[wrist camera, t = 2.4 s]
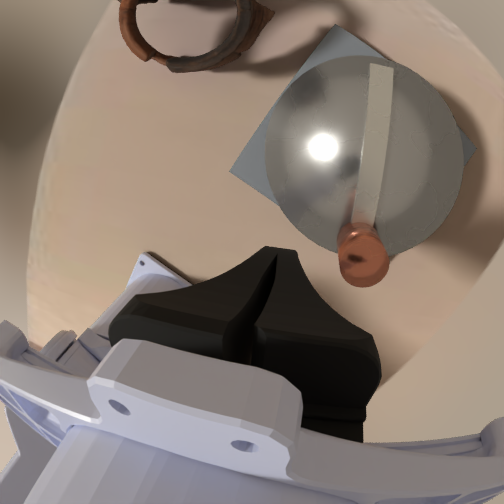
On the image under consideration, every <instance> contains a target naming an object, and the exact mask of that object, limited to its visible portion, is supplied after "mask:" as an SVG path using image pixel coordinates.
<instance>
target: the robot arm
mask: <svg viewBox="0 0 504 504" xmlns="http://www.w3.org/2000/svg"><path fill="white" fill-rule="evenodd" d="M142 261H143V262H144V263H145V264H144V263H143V262H142ZM76 337H77V335H76V333H75V332H74V331H73V330H70V331H64V330H62V331H60V332H59V333H57V334H56V335H55V336H54V337H53V338H52V339H51V340H50V341H49V342H48V343H47V344H46V345H45V346H44V347H43V349H42V350H41V351H40V352H38V351H37V350H35V349H33V348H32V347H30V346H29V344H28V341H27V339H26V337H25V335H24V334H23V332H22V331H21V330H20V329H19V328H17V327H16V326H14V325H13V324H11V323H10V322H8V321H6V320H4V321H3V322H2V323H1V324H0V400H1V401H2V402H3V403H4V404H5V405H6V406H5V414H6V418H7V421H8V424H9V427H10V429H11V432H12V435H13V438H14V440H15V443H16V445H17V448H18V450H17V452H16V453H15V454H14V456H13V457H12V458H11V460H10V461H9V463H8V464H7V465H6V467H5V468H4V469H3V471H2V472H1V473H0V504H483V503H485V502H487V501H489V500H491V499H493V498H494V497H496V496H498V495H499V494H501V493H502V492H504V417H501V418H497V419H495V420H493V421H492V422H490V423H489V424H488V425H487V426H486V427H485V428H484V429H483V430H482V431H481V433H479V434H473V435H467V436H462V437H454V438H446V439H438V440H428V441H415V442H394V443H363V422H364V421H365V420H366V406H367V404H368V402H369V401H370V399H371V397H372V396H373V394H374V392H375V391H376V389H377V387H378V385H379V383H380V380H381V377H382V374H381V363H380V358H379V354H378V351H377V347H376V345H375V342H374V339H373V336H372V335H371V334H369V333H368V332H366V331H364V330H362V329H361V328H359V327H357V326H355V325H353V324H352V323H350V322H349V321H348V320H346V319H345V318H343V317H342V316H341V315H339V314H338V313H337V312H336V311H334V310H333V309H332V308H331V307H330V306H329V305H328V304H327V303H326V302H325V301H324V300H323V299H322V298H321V297H320V296H319V294H318V293H317V292H316V290H315V289H314V288H313V286H312V285H311V283H310V281H309V280H308V278H307V276H306V274H305V272H304V270H303V268H302V266H301V264H300V261H299V258H298V253H297V252H296V250H290V249H283V248H276V247H269V246H265V247H263V248H262V249H260V250H259V251H258V252H256V253H255V254H254V255H252V256H251V257H250V258H248V259H247V260H245V261H244V262H242V263H241V264H239V265H237V266H236V267H234V268H232V269H231V270H229V271H227V272H225V273H223V274H221V275H219V276H217V277H214V278H212V279H210V280H207V281H204V282H201V283H198V284H195V285H192V284H190V283H189V282H187V281H186V280H185V279H183V278H182V277H180V276H179V275H177V274H176V273H175V272H173V271H172V270H170V269H169V268H167V267H166V266H165V265H163V264H162V263H160V262H159V261H158V260H156V259H155V258H153V257H152V256H151V255H149V254H148V253H146V252H143V253H142V254H141V255H140V256H139V258H138V260H137V263H136V265H135V267H134V270H133V272H132V275H131V277H130V279H129V282H128V284H127V287H126V289H125V290H124V291H123V292H122V293H121V294H120V296H119V297H118V298H117V299H116V300H115V301H114V302H113V303H112V304H111V305H110V306H109V307H108V308H107V309H106V310H105V311H104V312H103V313H102V315H101V316H100V317H99V318H98V319H97V320H96V321H95V322H94V323H93V324H92V325H91V327H90V328H87V329H86V330H85V332H84V333H83V334H82V335H81V336H80V337H79V338H78V339H77V340H76V339H75V338H76Z"/></svg>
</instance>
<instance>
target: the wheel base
mask: <svg viewBox="0 0 504 504" xmlns="http://www.w3.org/2000/svg"><path fill="white" fill-rule="evenodd" d="M353 55H362V56H374V57H380V58H384V57H383V56H382V55H380V54H379V53H378V52H376V51H375V50H374V49H372V48H371V47H369V46H368V45H367V44H365V43H364V42H362V41H361V40H359V39H358V38H356V37H355V36H354V35H352V34H350V33H349V32H347V31H346V30H344V29H343V28H341V27H340V26H338V25H336V24H335V25H334V26H333V27H332V28H331V30H330V31H329V32H328V33H327V35H326V36H325V37H324V38H323V40H322V41H321V42H320V43H319V45H318V46H317V47H316V49H315V50H314V51H313V52H312V54H311V55H310V56H309V58H308V59H307V60H306V62H305V63H304V64H303V66H302V67H301V68H300V70H299V71H298V72H297V74H296V75H295V76H294V78H293V79H292V80H291V82H290V83H289V84H288V86H287V87H286V89H285V90H284V91H283V93H284V92H285V91H286V90H287V89H288V87H289V86H290V85H291V84H292V83H293V82H294V81H295V80H296V79H298V78H299V77H300V76H301V75H302V74H304V73H305V72H307V71H308V70H310V69H311V68H313V67H315V66H317V65H319V64H321V63H323V62H326V61H329V60H332V59H335V58H339V57H345V56H353ZM384 59H385V58H384ZM283 93H282V94H281V96H282V95H283ZM281 96H280V97H279V98H278V100H277V101H276V103H275V104H274V105H273V107H272V108H271V110H270V111H269V112H268V114H267V115H266V117H265V118H264V120H263V121H262V123H261V124H260V126H259V127H258V128H257V130H256V131H255V133H254V134H253V136H252V137H251V139H250V140H249V142H248V143H247V145H246V146H245V148H244V149H243V151H242V152H241V154H240V155H239V157H238V159H237V160H236V162H235V163H234V165H233V166H232V168H231V169H230V171H229V172H231V173H232V174H234V175H235V176H236V177H238V178H239V179H241V180H242V181H244V182H245V183H247V184H248V185H250V186H251V187H253V188H254V189H256V190H257V191H258V192H260V193H261V194H263V195H264V196H266V197H267V198H268V199H270V200H271V201H273V202H274V203H276V204H277V205H278V203H277V201H276V199H275V197H274V195H273V192H272V190H271V187H270V184H269V180H268V177H267V173H266V165H265V139H266V132H267V128H268V125H269V121H270V118H271V115H272V113H273V111H274V109H275V106H276V105H277V103H278V101H279V100H280V98H281ZM458 129H459V132H460V136H461V140H462V146H463V155H464V166H465V165H466V163H467V162H468V160H469V159H470V158H471V156H472V155H473V153H474V152H475V151H476V149H477V148H476V147H475V145H474V144H473V143H472V142H471V141H470V139H469V138H468V137H467V136H466V135H465V133H464V132H463V131H462V130H461V129H460V128H459V127H458ZM278 206H279V205H278Z"/></svg>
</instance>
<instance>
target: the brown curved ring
mask: <svg viewBox="0 0 504 504" xmlns="http://www.w3.org/2000/svg"><path fill="white" fill-rule="evenodd" d="M118 1H119V2H120V3H121V4H120V8H119V23H120V30H121V34H122V37H123V39H124V40H125V42H126V44H127V46H128V47H129V48H130V50H131V51H132V52H133V53H134V54H135V55H136V56H137V57H138V58H140V59H141V60H143V61H145V62H146V61H148V60H150V59H151V58H152V59H153V60H156V61H157V62H159V63H160V64H163V65H165V66H167V67H168V68H169V70H170V71H171V72H175V73H186V72H196V71H204V70H209V69H213V68H217V67H220V66H223V65H225V64H228V63H229V62H231V61H233V60H236V59H237V58H239V57H240V56H241V52H243V51H246V50H248V49H249V48H250V47H251V46H252V45H253V44H254V42H255V41H256V39H257V37H258V36H259V34H260V32H261V31H262V29H263V28H264V27H265V25H266V24H267V23H268V22H269V21H270V20H271V18H272V17H273V15H274V14H275V12H274V11H272V10H270V9H268V8H267V7H265V6H262V5H261V4H259V3H257V2H256V1H255V0H235V2H236V6H237V18H236V22H235V26H234V28H233V31H232V32H231V34H230V35H229V37H228V38H227V39H226V40H225V41H224V42H223V43H222V44H221V45H220V46H218V47H217V48H216V49H214V50H212V51H210V52H208V53H206V54H203V55H200V56H196V57H184V58H180V57H174V56H168V55H164V54H162V53H160V52H158V51H157V50H156V49H154V48H153V47H152V46H151V45H149V44H148V43H147V42H146V41H145V39H144V38H143V37H142V35H141V33H140V31H139V29H138V27H137V23H136V6H137V5H138V4H147V3H156V2H157V1H158V0H118Z"/></svg>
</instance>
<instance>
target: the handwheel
mask: <svg viewBox="0 0 504 504" xmlns="http://www.w3.org/2000/svg"><path fill="white" fill-rule="evenodd" d="M265 165H266V173H267V177H268V180H269V184H270V187H271V190H272V192H273V195H274V197H275V199H276V201H277V203H278V205H279V206H280V208H281V210H282V211H283V213H284V214H285V215H286V217H287V218H288V219H289V221H290V222H291V223H292V224H293V225H294V226H295V227H296V228H297V229H298V230H299V231H300V232H301V233H302V234H304V235H305V236H306V237H307V238H308V239H310V240H312V241H313V242H315V243H316V244H318V245H319V246H321V247H324V248H326V249H328V250H330V251H332V252H335V253H338V257H339V265H340V272H341V274H342V277H343V278H344V279H345V281H347V282H348V283H349V284H351V285H353V286H356V287H370V286H373V285H375V284H377V283H378V282H380V281H381V280H382V279H383V278H384V277H385V275H386V274H387V272H388V269H389V257H388V256H392V255H395V254H398V253H401V252H404V251H406V250H408V249H411V248H413V247H414V246H416V245H418V244H419V243H421V242H423V241H424V240H425V239H426V238H428V237H429V236H430V235H432V234H433V233H434V232H435V231H436V230H437V229H438V227H439V226H440V225H441V224H442V223H443V221H444V220H445V219H446V217H447V216H448V214H449V213H450V211H451V209H452V207H453V206H454V203H455V201H456V199H457V196H458V194H459V190H460V186H461V183H462V176H463V169H464V155H463V146H462V140H461V136H460V132H459V129H458V126H457V124H456V121H455V118H454V116H453V114H452V112H451V111H450V109H449V107H448V105H447V104H446V102H445V101H444V100H443V98H442V97H441V95H440V94H439V93H438V92H437V91H436V90H435V89H434V88H433V86H432V85H431V84H430V83H428V82H427V81H426V80H425V79H424V78H422V77H421V76H420V75H419V74H417V73H415V72H414V71H412V70H411V69H409V68H407V67H405V66H403V65H401V64H399V63H396V62H394V61H391V60H387V59H384V58H380V57H374V56H362V55H353V56H345V57H339V58H335V59H332V60H329V61H326V62H323V63H321V64H319V65H317V66H315V67H313V68H311V69H310V70H308V71H307V72H305V73H304V74H302V75H301V76H300V77H299V78H298V79H296V80H295V81H294V82H293V83H292V84H291V85H290V86H289V87H288V89H287V90H286V91H285V92H284V93H283V95H282V96H281V98H280V100H279V101H278V103H277V105H276V106H275V109H274V111H273V113H272V115H271V118H270V121H269V125H268V128H267V132H266V139H265Z"/></svg>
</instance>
